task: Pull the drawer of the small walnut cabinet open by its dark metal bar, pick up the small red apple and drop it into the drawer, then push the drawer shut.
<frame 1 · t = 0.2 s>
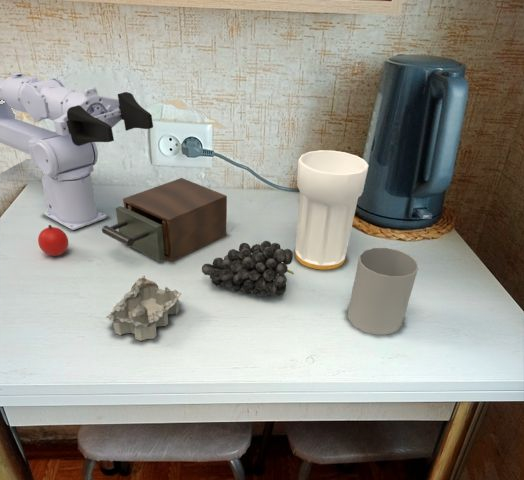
hand: (131, 127, 77), 21 cm above the table, tool horizontal, fingers open, 7 cm apart
cup 2: (319, 258, 93), on the table
cup: (374, 319, 79), on the table
drawer: (156, 226, 90), point 4 cm above the table, slide at 1.0 cm
cabinet: (178, 237, 96), on the table
fruit: (247, 288, 84), on the table
apple: (53, 241, 87), point 2 cm above the table
egg carton: (147, 320, 76), on the table
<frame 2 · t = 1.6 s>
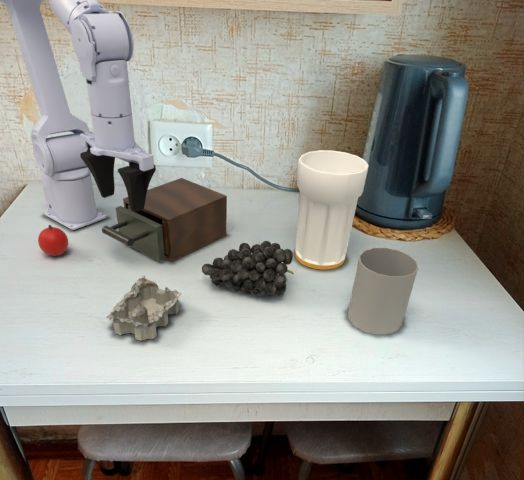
hand: (122, 202, 82), 10 cm above the table, tool pointing down, fingers open, 7 cm apart
nothing on the table moved.
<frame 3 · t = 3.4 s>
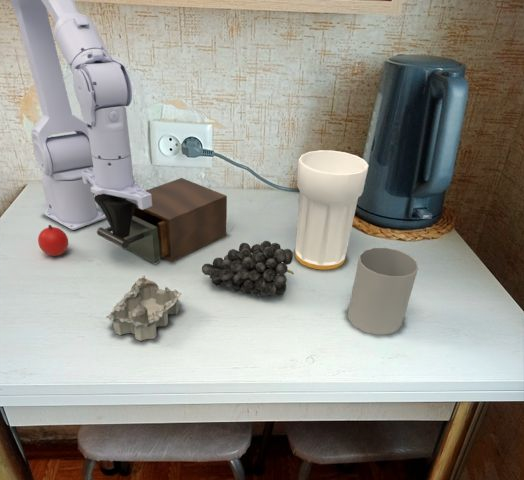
hand: (122, 236, 85), 5 cm above the table, tool pointing down, fingers closed
drawer: (151, 228, 89), point 4 cm above the table, slide at 2.0 cm
everything else where it was.
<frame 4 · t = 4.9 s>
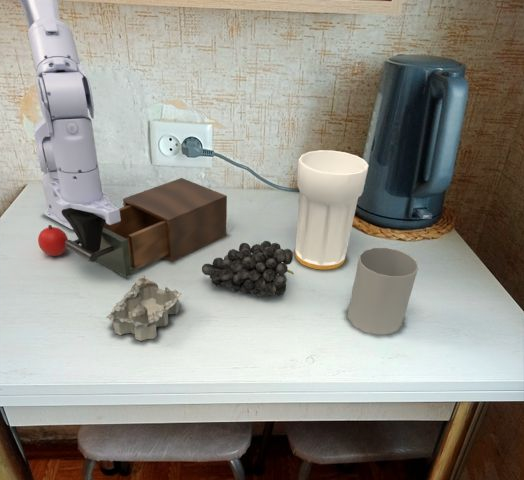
hand: (92, 251, 81), 4 cm above the table, tool pointing down, fingers closed, pressing on drawer
drawer: (124, 240, 86), point 4 cm above the table, slide at 8.1 cm, touching gripper
everything else where it was.
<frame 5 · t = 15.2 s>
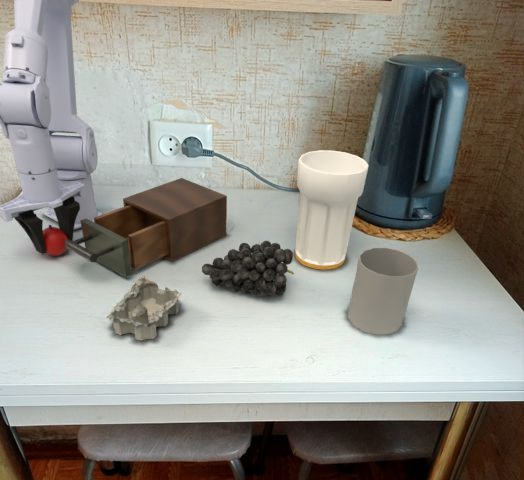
hand: (54, 246, 88), 1 cm above the table, tool pointing down, fingers closed on apple, 4 cm apart
drawer: (124, 240, 86), point 4 cm above the table, slide at 8.1 cm
apple: (53, 241, 87), point 2 cm above the table, touching gripper
everything else where it was.
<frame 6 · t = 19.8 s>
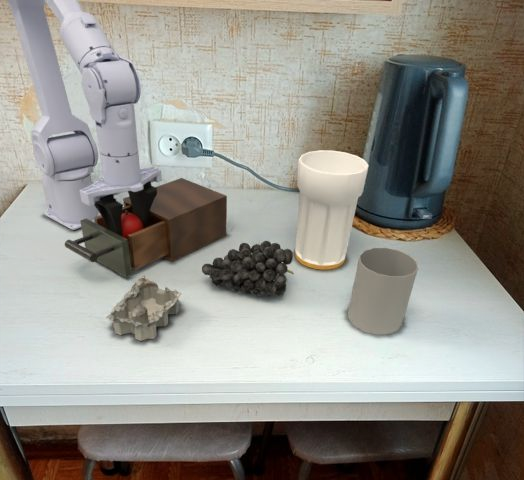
hand: (128, 233, 86), 5 cm above the table, tool pointing down, fingers closed on apple, 5 cm apart
apple: (128, 227, 85), point 6 cm above the table, touching gripper
everything else where it was.
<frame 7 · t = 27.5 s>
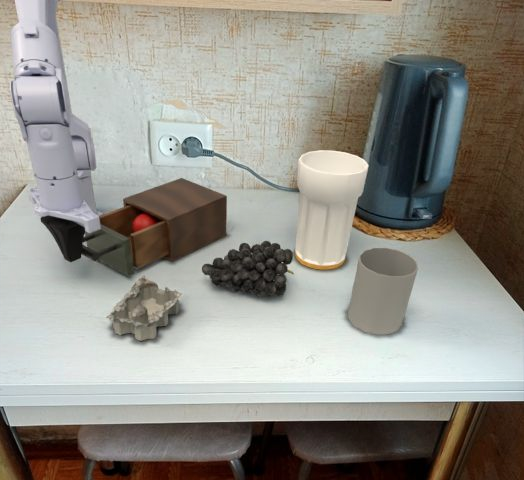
hand: (73, 258, 79), 4 cm above the table, tool pointing down, fingers closed, pressing on drawer
drawer: (126, 239, 86), point 4 cm above the table, slide at 7.7 cm, touching apple, gripper
apple: (146, 227, 89), point 4 cm above the table, tilted 98°, touching drawer
everything else where it was.
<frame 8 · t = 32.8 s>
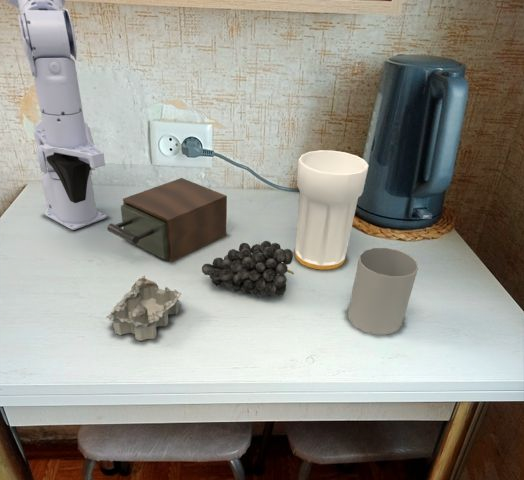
hand: (78, 200, 82), 10 cm above the table, tool pointing down, fingers closed
drawer: (160, 224, 91), point 4 cm above the table, slide at -0.1 cm, touching apple, cabinet
apple: (177, 212, 94), point 4 cm above the table, tilted 107°, touching drawer
everything else where it was.
at the end: apple inside the target area in the cabinet (1.9 cm from its centre), point 4.2 cm above the cabinet's base; drawer slide at -0.1 cm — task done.
